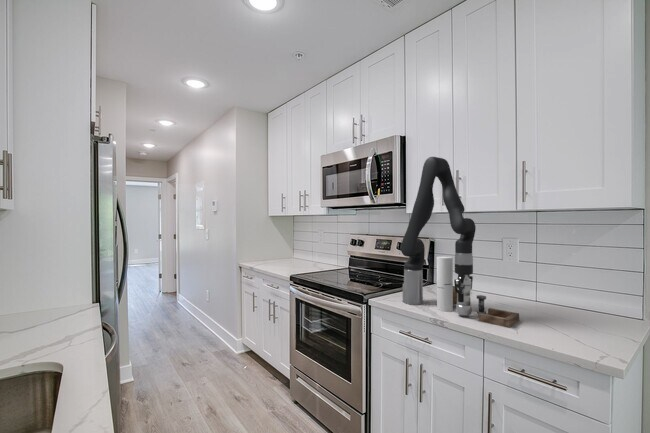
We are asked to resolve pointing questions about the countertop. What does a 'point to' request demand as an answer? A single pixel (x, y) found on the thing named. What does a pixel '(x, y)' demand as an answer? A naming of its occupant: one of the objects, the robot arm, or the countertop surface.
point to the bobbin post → (481, 304)
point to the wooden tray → (499, 317)
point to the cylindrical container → (445, 283)
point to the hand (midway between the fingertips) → (463, 300)
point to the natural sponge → (454, 296)
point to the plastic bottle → (465, 299)
